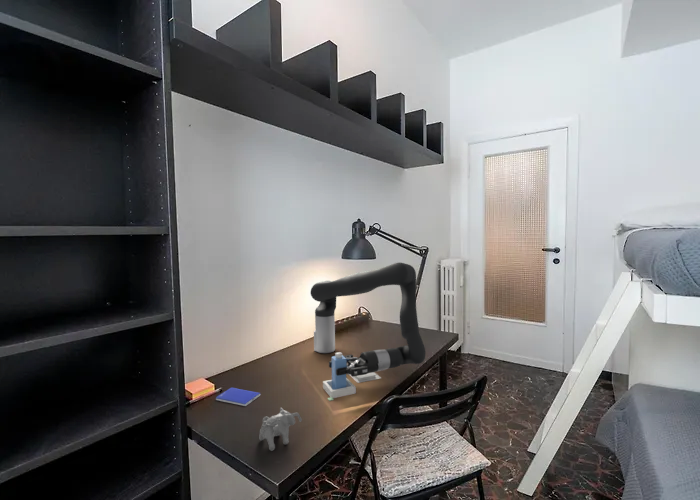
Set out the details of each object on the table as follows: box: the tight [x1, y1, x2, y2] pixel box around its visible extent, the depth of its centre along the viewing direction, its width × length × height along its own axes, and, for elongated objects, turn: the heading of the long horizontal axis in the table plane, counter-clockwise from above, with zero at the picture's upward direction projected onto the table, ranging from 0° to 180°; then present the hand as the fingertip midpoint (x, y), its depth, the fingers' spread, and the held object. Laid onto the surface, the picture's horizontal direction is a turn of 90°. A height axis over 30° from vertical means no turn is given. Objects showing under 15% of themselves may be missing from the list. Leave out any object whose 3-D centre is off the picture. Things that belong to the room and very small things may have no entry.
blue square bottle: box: [331, 351, 347, 390], centre depth 124 cm, size 4×4×14 cm
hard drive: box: [215, 387, 261, 407], centre depth 122 cm, size 2×8×12 cm
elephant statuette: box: [258, 406, 303, 452], centre depth 97 cm, size 9×12×8 cm
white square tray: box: [349, 372, 382, 384], centre depth 137 cm, size 10×10×2 cm
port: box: [322, 376, 357, 402], centre depth 124 cm, size 12×12×3 cm
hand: (332, 368), depth 123 cm, fingers open, 7 cm apart
